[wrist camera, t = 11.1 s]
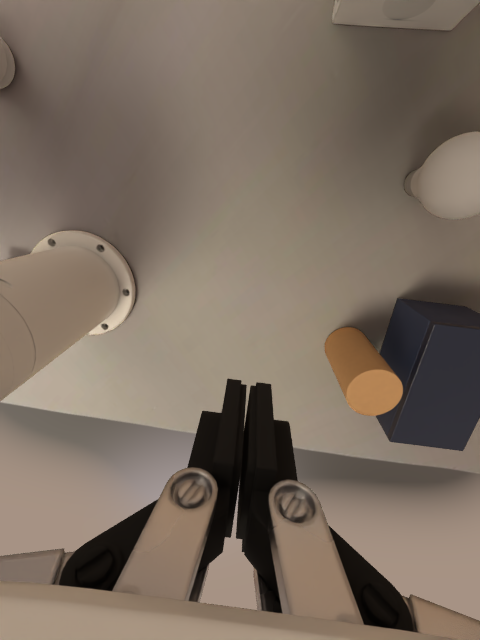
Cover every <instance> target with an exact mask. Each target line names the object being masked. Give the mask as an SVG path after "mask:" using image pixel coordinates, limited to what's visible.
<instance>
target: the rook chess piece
mask: <svg viewBox="0 0 480 640" xmlns="http://www.w3.org/2000/svg"><path fill="white" fill-rule="evenodd" d="M14 74H15V63H14V58H13V55H12V53H11V51H10V49H9V46H8V45H7V44H6V43H5V42H4V40H3V39H2V38H1V37H0V89H2V88H4V87H7V86H8V85H9V84H10V82H11V81H12V80H13V78H14Z"/></svg>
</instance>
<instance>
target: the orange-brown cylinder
mask: <svg viewBox="0 0 480 640" xmlns="http://www.w3.org/2000/svg"><path fill="white" fill-rule="evenodd" d="M325 353H326V355H327V358H328V360H329V362H330V364H331V367H332V369H333V371H334V373H335V376H336V378H337V380H338V382H339V384H340V387H341V389H342V391H343V393H344V396H345V398H346V400H347V402H348V404H349V406H350V407H351V408H352V409H353V410H354V411H356V412H358V413H360V414H363V415H368V416H374V415H380V414H383V413H386V412H388V411H390V410H391V409H393V408H394V407H395V406H396V405H397V404H398V403H399V401H400V399H401V397H402V394H403V386H402V382H401V380H400V379H399V378H398V376H397V375H396V374H395V373H394V371H393V370H392V369H391V368H390V366H389V365H388V364H387V363H386V361H385V360H384V359H383V358H382V356H381V355H380V354H379V353H378V351H377V350H376V349H375V348H374V346H373V345H372V344H371V343H370V341H369V340H368V339H367V338H366V336H365V335H364V334H363V333H362V332H361V331H360V330H358V329H356V328H352V327H344V328H340V329H338V330H336V331H334V332H333V333H331V334H330V335H329V337H328V338H327V340H326V342H325Z"/></svg>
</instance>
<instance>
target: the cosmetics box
mask: <svg viewBox="0 0 480 640" xmlns="http://www.w3.org/2000/svg"><path fill="white" fill-rule="evenodd" d="M479 3H480V0H335V3H334V10H333V15H332V21H333V24H345V25H359V26H375V27H392V28H409V29H429V30H447V31H451V30H452V29H453V28H454V27H455V26H456V25H457V24H458V23H459V22H460V21H461V20H462V19H463V18H464V17H465V16H466V15H467V14H468V13H469V12H470V11H471V10H472V9H473V8H475V7H476V6H477V5H478V4H479Z"/></svg>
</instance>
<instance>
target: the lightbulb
mask: <svg viewBox="0 0 480 640" xmlns="http://www.w3.org/2000/svg"><path fill="white" fill-rule="evenodd" d="M404 189H405V191H406V193H407V194H408V195H410V196H413V197H416V198H418V199H419V200H420V202H421V204H422V205H423V207H424V208H425V209H426V210H427V211H428V212H430V213H431V214H433V215H435V216H437V217H439V218H443V219H451V220H458V219H465V218H469V217H472V216H475V215H478V214H480V132H469V133H464V134H461V135H458V136H455V137H453V138H451V139H449V140H447V141H446V142H444V143H443V144H441V145H440V146H439V147H438V148H437V149H435V150H434V151H433V152H432V153H431V154H430V155H429V157H428V158H427V159H426V161H425V162H424V164H423V166H422V167H420V168H419V169H417V170H414V171H412V172H411V173H410V174H409V175H408V176H407V178H406V179H405V183H404Z"/></svg>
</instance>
